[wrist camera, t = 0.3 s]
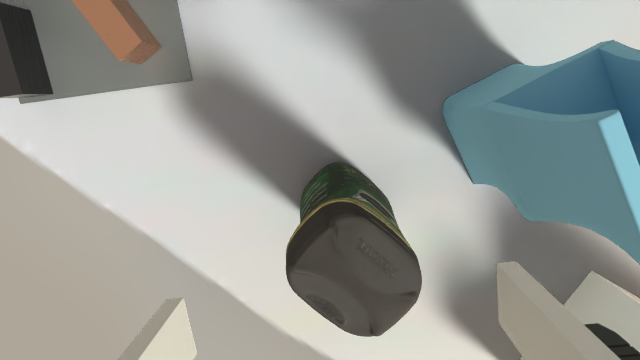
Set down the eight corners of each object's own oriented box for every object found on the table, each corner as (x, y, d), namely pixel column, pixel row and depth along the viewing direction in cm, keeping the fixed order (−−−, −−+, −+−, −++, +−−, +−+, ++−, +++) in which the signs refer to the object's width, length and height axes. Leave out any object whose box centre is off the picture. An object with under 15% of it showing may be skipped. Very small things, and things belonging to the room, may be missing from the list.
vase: (526, 56, 39) (855, -6, 14) (560, 142, 40) (905, 217, 16) (436, 103, 40) (596, 118, 16) (473, 184, 42) (669, 312, 17)
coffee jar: (290, 202, 43) (258, 282, 25) (336, 149, 41) (337, 194, 23) (354, 255, 44) (368, 369, 26) (401, 206, 43) (451, 289, 24)
